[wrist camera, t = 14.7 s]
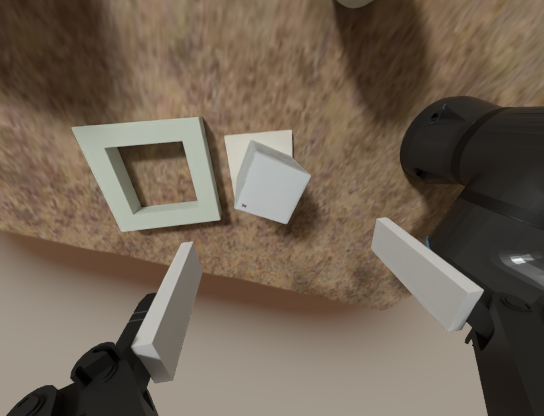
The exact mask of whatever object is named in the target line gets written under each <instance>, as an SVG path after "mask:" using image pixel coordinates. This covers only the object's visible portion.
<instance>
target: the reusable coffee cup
mask: <svg viewBox="0 0 544 416" xmlns="http://www.w3.org/2000/svg"><path fill="white" fill-rule="evenodd" d="M337 1H338V2H339V3H340V4H341V5H343V6H345V7H348V8H359V7H362V6H365V5H367V4H368V3H370V2H372V1H374V0H337Z"/></svg>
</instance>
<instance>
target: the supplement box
mask: <svg viewBox="0 0 544 416" xmlns="http://www.w3.org/2000/svg"><path fill="white" fill-rule="evenodd" d="M310 177H311V175H310V174H309V173H308V172H307V171H306V170H305V169H304V168H302V167H301V166H300V165H299V164H298V163H297V162H296V161H295V160H294V159H293V158H292V157H291V156H290V155H287V154H285V153H283V152H280V151H278V150H275V149H273V148H271V147H268V146H266V145H264V144H261V143H259V142H256V141H254V140H250V142H249V145H248V147H247V150H246V153H245V155H244V158H243V161H242V164H241V167H240V170H239V173H238V176H237V182H236V193H235V204H234V209H237V210H241V211H244V212H248V213H251V214H254V215H257V216H261V217H264V218H267V219H270V220H274V221H277V222H280V223H283V224H287V223H288V221H289V219H290V217H291V215H292V213H293V211H294V209H295V207H296V205H297V203H298V201H299V199H300V197H301V195H302V193H303V191H304V189H305V187H306V185H307V183H308V181H309V179H310Z"/></svg>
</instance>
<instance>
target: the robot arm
mask: <svg viewBox="0 0 544 416" xmlns="http://www.w3.org/2000/svg"><path fill="white" fill-rule="evenodd" d="M400 158H401V164H402V167H403V169H404V171H405V172H406V173H407V174H408V175H409V176H410V177H412V178H414V179H416V180H419V181H422V182H425V183H431V184H460V185H464V186H466V187H465V188H464V189H463V191H462V192H461V194H460V195H459V196H458V197H457V199H456V200H455V201H454V203H453V204H452V206H451V207H450V208H449V210H448V211H447V213H446V214H445V215H444V217H443V218H442V220H441V221H440V222H439V224H438V225H437V226H436V228H435V229H434V230H433V232H432V233H431V234H430V235H428V236H427V237H426V238H425V242H424V244H422V243H420V242H419V241H418V240H416V239H415V238H414V237H412V236H411V235H410V234H408V233H407V232H406V231H404V230H403V229H402V228H400V227H399V226H398V225H396V224H395V223H394V222H392V221H391V220H390V219H388V218H387V217H386V218H378V219H377V220H376V225H375V230H374V236H373V241H372V246H371V249H372V251H373V252H374V253H375V254H376V255H377V256H378V257H379V258H380V259H381V260H382V262H383V263H384V264H385V265H386V266H387V267H388V268H389V269H390V270H391V271H392V272H393V274H394V275H395V276H396V277H397V278H398V279H399V280H400V281H401V282H402V283H403V284H404V286H405V287H406V288H407V289H408V290H409V291H410V292H411V293H412V294H413V295H414V296H415V298H416V299H417V300H418V301H419V302H420V303H421V304H422V305H423V306H424V307H425V309H426V310H427V311H428V312H429V313H430V314H431V315H432V316H433V317H434V318H435V319H436V321H437V322H438V323H439V324H440V325H441V326H442V327H443V328H444V329H445V330H446V331H447V332H452V331H457V330H462V328H463V326H464V325H465V323H466V322H467V323H468V324H469V325H470V326H471V327H472V329H471V331H470V332H469V334H468V336H467V337H466V339H465V343H466V344H468V343H469V342H470V340H471V339H472V342H473V345H472V346H473V347H474V351H475V357H476V361H477V366H478V371H479V375H480V380H481V385H482V389H483V394H484V399H485V404H486V409H487V413H488V416H544V106H540V107H501V106H498V105H495V104H492V103H489V102H487V101H484V100H481V99H478V98H475V97H470V96H457V97H448V98H444V99H441V100H438V101H436V102H434V103H433V104H431V105H429V106H428V107H427V108H425V109H424V110H423V111H422V112H421V113H420V114H419V115H418V116H417V117H416V118H415V119H414V121H413V122H412V123H411V125H410V126H409V128H408V130H407V132H406V134H405V136H404V139H403V142H402V145H401V152H400ZM201 275H202V269H201V266H200V262H199V259H198V256H197V252H196V249H195V246H194V242H185V243H181V245H180V247H179V249H178V252H177V254H176V256H175V258H174V260H173V262H172V264H171V266H170V268H169V270H168V272H167V274H166V276H165V278H164V280H163V282H162V284H161V286H160V288H159V290H158V292H157V293H151V294H147V295H146V296H145V297H144V298H143V299H142V300H141V301H140V302H139V304H138V306H137V307H136V309H135V311H134V314H133V315H132V316H131V318H130V320H129V323H128V324H127V325H126V327H125V329H124V331H123V333H122V334H121V336H120V338H119V340H118V341H117V343H116V345H115V344H114V343H113V342H105V343H101V344H99V345H97V346H95V347H93V348H91V349H90V350H89V351H88V352H86V353H85V354H84V355H83V356H82V357H81V358H80V359H79V360H78V361H77V362H76V364H75V366H74V368H73V369H72V371H71V377H70V378H71V379H72V380H73V381H74V382H75V383H73V384H70V385H69V386H66V387H64V388H62V389H60V390H58V389H56V388H55V387H54V386H53V385H45V386H43V387H40V388H38V389H36V390H34V391H33V392H31V393H30V394H28V395H27V396H25V397H24V398H23V399H22V400H21V401H20V402H18V403H17V404H16V405H15V406H14V407H13V409H12V410H11V411H10V412H9V413H8V414H7V415H6V416H158V414H157V411H156V409H155V406H154V404H153V401H152V398H151V396H150V393H149V391H148V389H147V385H148V383H149V380H150V377H151V378H152V380H153V381H154V383H160V382H167V381H172V380H173V378H174V375H175V371H176V367H177V363H178V360H179V356H180V352H181V349H182V345H183V341H184V338H185V334H186V330H187V327H188V323H189V319H190V315H191V312H192V308H193V305H194V301H195V297H196V293H197V290H198V286H199V283H200V279H201Z"/></svg>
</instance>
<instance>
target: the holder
mask: <svg viewBox="0 0 544 416" xmlns="http://www.w3.org/2000/svg"><path fill="white" fill-rule="evenodd" d="M71 129H72V131H73V133H74V135H75V137H76V139H77V141H78V143H79V145H80V147H81V149H82V151H83V153H84V155H85V157H86V160H87V162H88V164H89V166H90V168H91V170H92V172H93V174H94V176H95V178H96V180H97V182H98V184H99V186H100V188H101V190H102V192H103V195H104V197H105V199H106V201H107V203H108V205H109V207H110V209H111V211H112V213H113V215H114V217H115V219H116V221H117V223H118V225H119V227H120V229H121V232H126V231H134V230H142V229H150V228H159V227H167V226H175V225H183V224H192V223H200V222H208V221H217V220H220V219H221V214H222V210H221V206H220V201H219V196H218V191H217V186H216V181H215V176H214V172H213V167H212V162H211V157H210V152H209V147H208V143H207V138H206V133H205V128H204V123H203V118H202V117H193V118H180V119H167V120H154V121H142V122H129V123H116V124H103V125H90V126H79V127H71ZM177 141H182V142H183V145H184V149H185V153H186V157H187V161H188V165H189V168H190V172H191V176H192V180H193V184H194V188H195V192H196V195H197V199H198V201H192V202H183V203H174V204H165V205H156V206H147V207H141V205H140V202H139V200H138V198H137V195H136V193H135V190H134V188H133V185H132V183H131V180H130V178H129V175H128V173H127V170H126V168H125V166H124V163H123V161H122V158H121V156H120V153H119V151H118V148H117V147H119V146H131V145H142V144H154V143H165V142H177Z"/></svg>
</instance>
